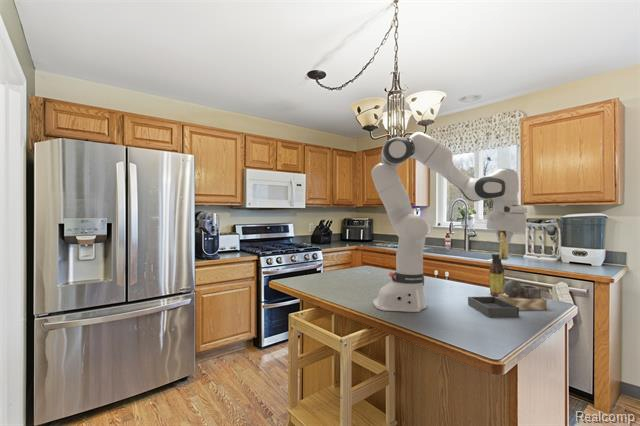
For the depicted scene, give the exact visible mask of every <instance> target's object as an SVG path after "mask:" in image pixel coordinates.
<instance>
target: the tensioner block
mask: <svg viewBox="0 0 640 426" xmlns="http://www.w3.org/2000/svg"><path fill="white" fill-rule="evenodd" d="M503 291H504V294H498V296H497V298H499V299H501V300H503V301H505V302H508V303H510V304H512V305H514V306H516V307H518V308H519V311H533V310H535V311H536V310H541V311H543V310H547V307H548V306H547V305H548V304H547V301H548V300H547V299H546V298H543V297H542V289H541V288H540V287H537V286H534V285H529V284H527V285H526V284H521V283H520V282H519V281H517V280H514V279H508V280H506V281H505V283H504V285H503Z"/></svg>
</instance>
